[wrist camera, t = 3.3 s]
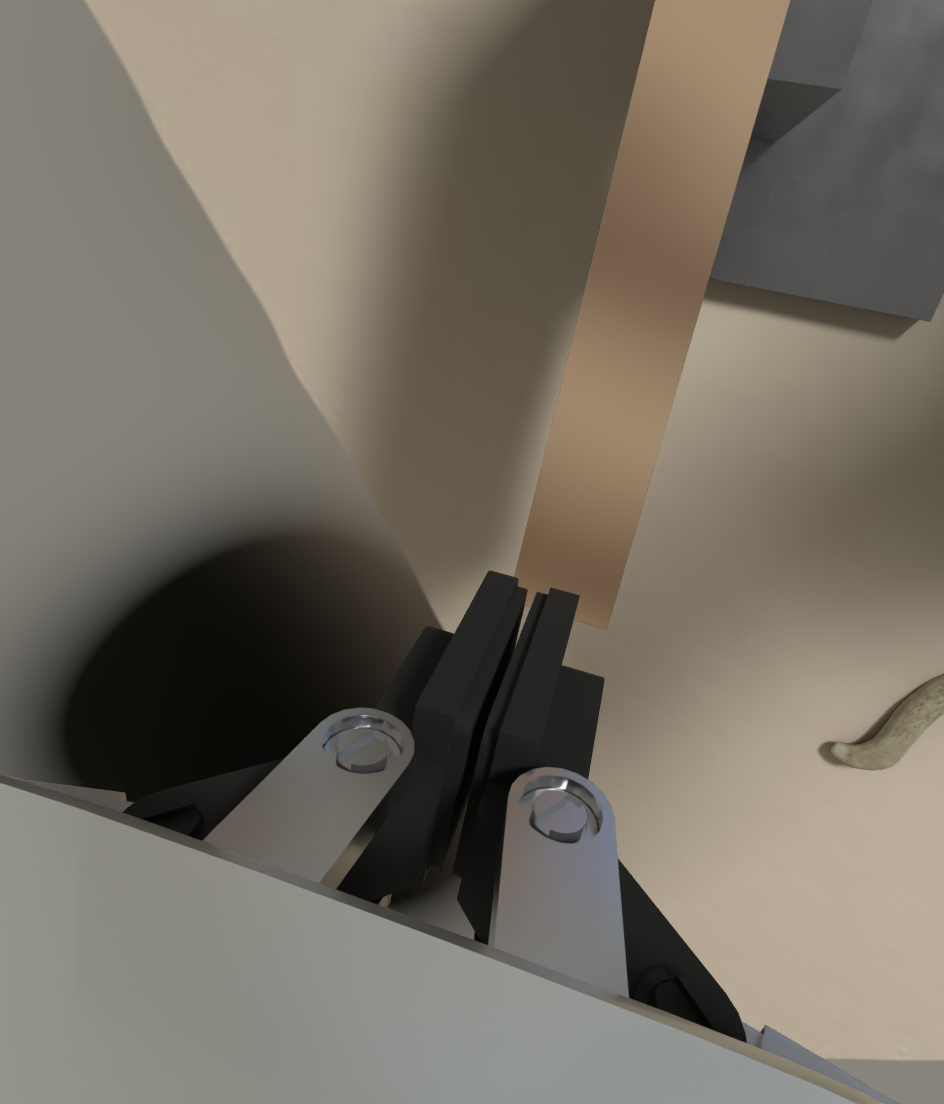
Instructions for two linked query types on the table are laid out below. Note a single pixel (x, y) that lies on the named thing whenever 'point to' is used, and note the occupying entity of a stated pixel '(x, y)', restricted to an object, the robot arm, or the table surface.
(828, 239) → the frame stand
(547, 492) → the picture frame
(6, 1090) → the robot arm
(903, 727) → the decorative wall piece
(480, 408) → the table surface
